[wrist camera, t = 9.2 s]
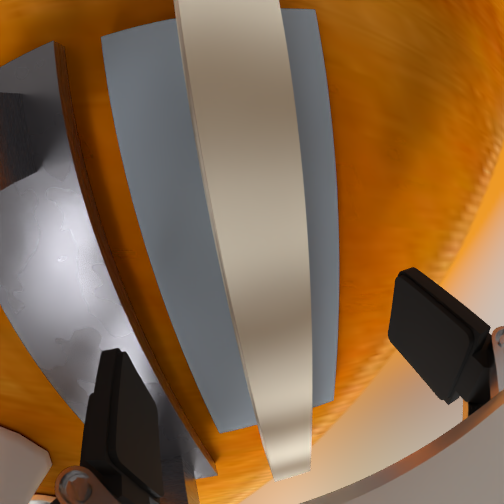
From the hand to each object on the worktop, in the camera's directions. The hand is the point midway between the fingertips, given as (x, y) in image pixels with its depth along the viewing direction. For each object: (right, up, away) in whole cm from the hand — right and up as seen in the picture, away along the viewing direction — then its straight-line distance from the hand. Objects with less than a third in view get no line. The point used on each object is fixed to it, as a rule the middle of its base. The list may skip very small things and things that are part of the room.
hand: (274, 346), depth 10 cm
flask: (-21, -13, +6) cm, 26 cm away
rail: (-1, +2, +3) cm, 4 cm away
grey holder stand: (-9, -2, +4) cm, 10 cm away
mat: (-1, +2, +4) cm, 5 cm away
